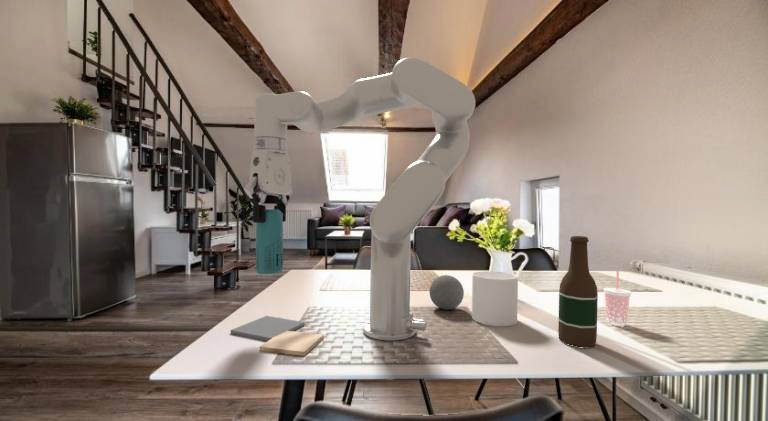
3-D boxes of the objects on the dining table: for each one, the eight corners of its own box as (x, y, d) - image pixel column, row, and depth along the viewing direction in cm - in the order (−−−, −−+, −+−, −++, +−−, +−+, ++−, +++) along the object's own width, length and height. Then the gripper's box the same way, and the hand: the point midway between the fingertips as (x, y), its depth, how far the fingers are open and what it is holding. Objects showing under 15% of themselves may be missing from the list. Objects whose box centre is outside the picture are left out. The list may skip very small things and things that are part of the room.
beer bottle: (582, 351, 75) (585, 238, 75) (550, 339, 82) (552, 235, 82) (604, 345, 79) (607, 237, 79) (572, 334, 86) (574, 234, 86)
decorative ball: (463, 305, 109) (463, 273, 109) (463, 315, 100) (464, 279, 99) (430, 303, 111) (431, 271, 111) (427, 312, 102) (428, 277, 101)
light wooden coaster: (323, 338, 81) (323, 334, 81) (304, 355, 71) (304, 351, 71) (283, 333, 83) (283, 330, 83) (259, 350, 73) (259, 346, 73)
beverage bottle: (278, 280, 83) (279, 194, 82) (249, 280, 83) (251, 194, 82) (286, 275, 89) (287, 195, 89) (260, 275, 89) (261, 195, 89)
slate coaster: (304, 325, 89) (304, 322, 89) (271, 341, 78) (271, 338, 78) (266, 318, 94) (266, 315, 94) (230, 333, 83) (230, 330, 83)
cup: (468, 323, 93) (469, 277, 93) (474, 311, 104) (475, 270, 104) (516, 329, 89) (517, 281, 89) (517, 316, 100) (518, 273, 99)
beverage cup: (626, 329, 90) (627, 274, 89) (599, 323, 94) (600, 270, 94) (633, 324, 94) (634, 271, 93) (607, 319, 98) (608, 268, 98)
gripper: (257, 140, 76) (256, 223, 76) (305, 152, 92) (304, 221, 92) (230, 142, 79) (229, 222, 79) (281, 153, 95) (280, 220, 95)
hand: (269, 221), depth 86 cm, fingers closed on beverage bottle, 6 cm apart
